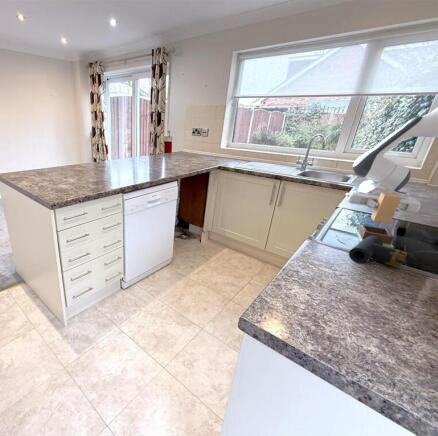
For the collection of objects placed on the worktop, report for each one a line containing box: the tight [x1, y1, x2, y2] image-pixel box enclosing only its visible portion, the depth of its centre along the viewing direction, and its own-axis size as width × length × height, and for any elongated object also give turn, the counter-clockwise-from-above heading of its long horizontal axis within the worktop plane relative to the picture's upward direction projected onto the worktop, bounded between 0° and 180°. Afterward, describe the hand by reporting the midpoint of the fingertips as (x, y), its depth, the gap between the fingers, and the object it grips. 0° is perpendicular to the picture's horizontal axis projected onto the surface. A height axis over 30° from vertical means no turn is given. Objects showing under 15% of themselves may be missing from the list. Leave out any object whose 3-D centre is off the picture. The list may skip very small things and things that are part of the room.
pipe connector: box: [348, 236, 408, 269], centre depth 79 cm, size 12×5×15 cm
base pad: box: [354, 223, 395, 249], centre depth 92 cm, size 12×9×4 cm
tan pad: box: [370, 192, 402, 225], centre depth 88 cm, size 4×4×10 cm
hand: (386, 207), depth 87 cm, fingers closed on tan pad, 4 cm apart
